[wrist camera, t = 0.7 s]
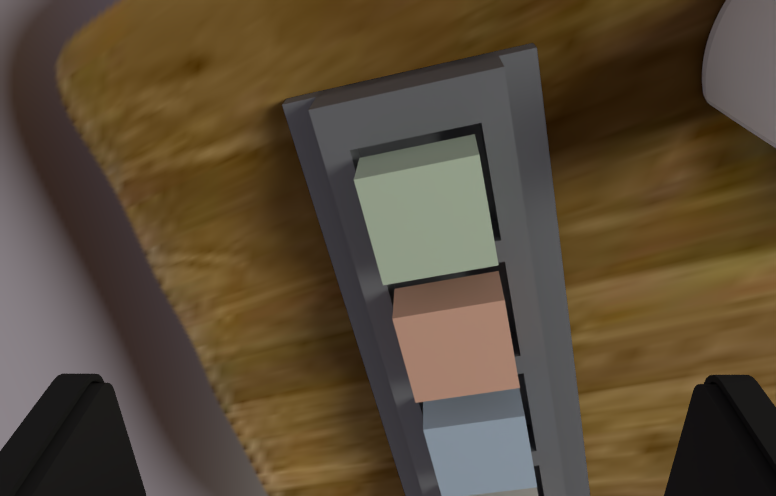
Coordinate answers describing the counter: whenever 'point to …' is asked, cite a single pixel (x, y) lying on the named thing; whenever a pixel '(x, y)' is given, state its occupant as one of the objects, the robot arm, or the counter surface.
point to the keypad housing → (516, 269)
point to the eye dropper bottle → (743, 65)
